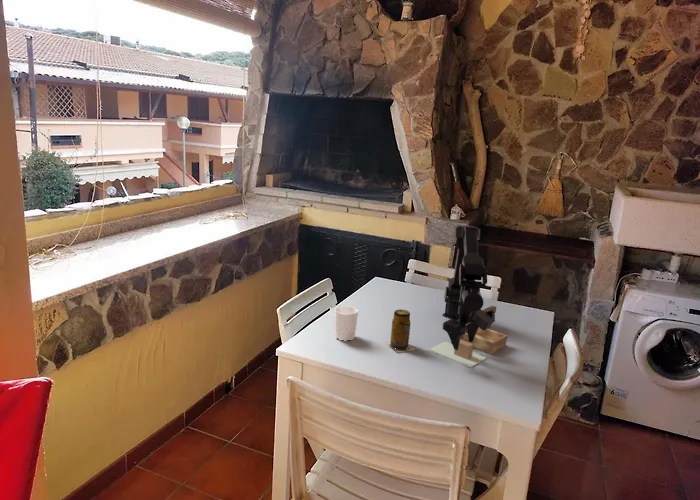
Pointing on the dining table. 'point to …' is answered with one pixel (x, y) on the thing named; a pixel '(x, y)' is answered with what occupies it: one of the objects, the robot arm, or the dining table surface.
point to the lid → (459, 353)
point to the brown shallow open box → (487, 340)
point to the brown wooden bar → (490, 309)
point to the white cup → (345, 322)
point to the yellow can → (400, 331)
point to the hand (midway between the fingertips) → (463, 345)
